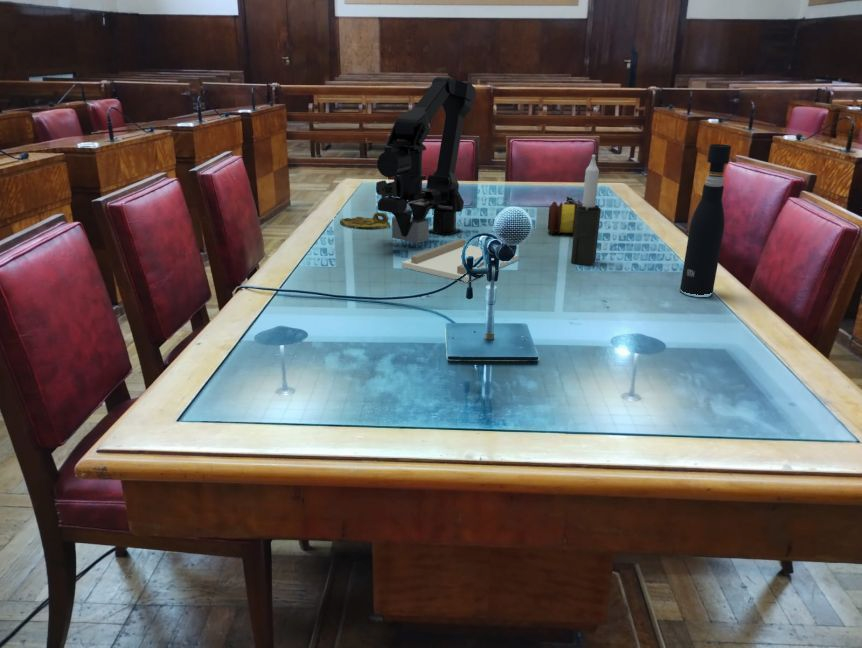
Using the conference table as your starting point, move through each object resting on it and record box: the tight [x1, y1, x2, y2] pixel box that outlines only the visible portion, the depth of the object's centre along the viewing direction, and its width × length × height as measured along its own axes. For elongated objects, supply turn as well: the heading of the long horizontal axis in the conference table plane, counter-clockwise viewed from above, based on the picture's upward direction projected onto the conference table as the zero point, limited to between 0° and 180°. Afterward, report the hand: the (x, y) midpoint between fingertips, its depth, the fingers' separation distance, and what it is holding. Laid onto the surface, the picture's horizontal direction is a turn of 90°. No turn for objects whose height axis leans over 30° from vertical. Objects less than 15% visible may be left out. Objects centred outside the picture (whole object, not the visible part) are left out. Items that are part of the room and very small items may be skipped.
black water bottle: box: [679, 143, 732, 295], centre depth 138 cm, size 6×6×30 cm
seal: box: [339, 212, 391, 231], centre depth 193 cm, size 9×5×15 cm
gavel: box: [547, 196, 583, 236], centre depth 197 cm, size 10×34×10 cm
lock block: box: [391, 216, 430, 244], centre depth 172 cm, size 4×8×5 cm, turn 54°
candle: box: [570, 154, 602, 267], centre depth 159 cm, size 5×5×25 cm
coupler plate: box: [401, 238, 519, 283], centre depth 160 cm, size 22×18×3 cm
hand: (410, 234), depth 172 cm, fingers closed on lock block, 4 cm apart
